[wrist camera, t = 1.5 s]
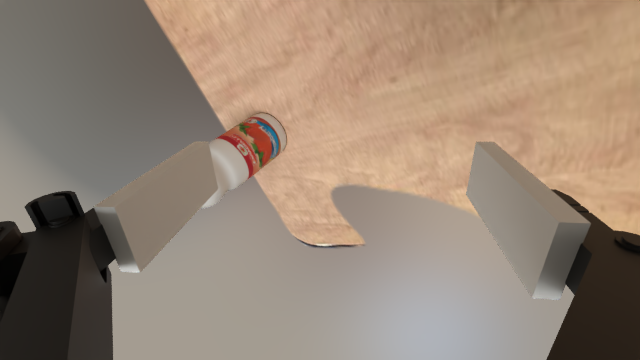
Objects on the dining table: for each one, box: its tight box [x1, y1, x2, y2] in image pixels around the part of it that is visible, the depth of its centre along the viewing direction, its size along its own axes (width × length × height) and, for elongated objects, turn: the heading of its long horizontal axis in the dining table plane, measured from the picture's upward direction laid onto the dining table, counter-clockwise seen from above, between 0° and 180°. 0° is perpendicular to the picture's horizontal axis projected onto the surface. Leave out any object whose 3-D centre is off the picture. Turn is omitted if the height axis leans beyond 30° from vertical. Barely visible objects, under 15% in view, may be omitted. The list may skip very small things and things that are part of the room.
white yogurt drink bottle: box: [200, 113, 287, 209], centre depth 54 cm, size 9×9×28 cm
